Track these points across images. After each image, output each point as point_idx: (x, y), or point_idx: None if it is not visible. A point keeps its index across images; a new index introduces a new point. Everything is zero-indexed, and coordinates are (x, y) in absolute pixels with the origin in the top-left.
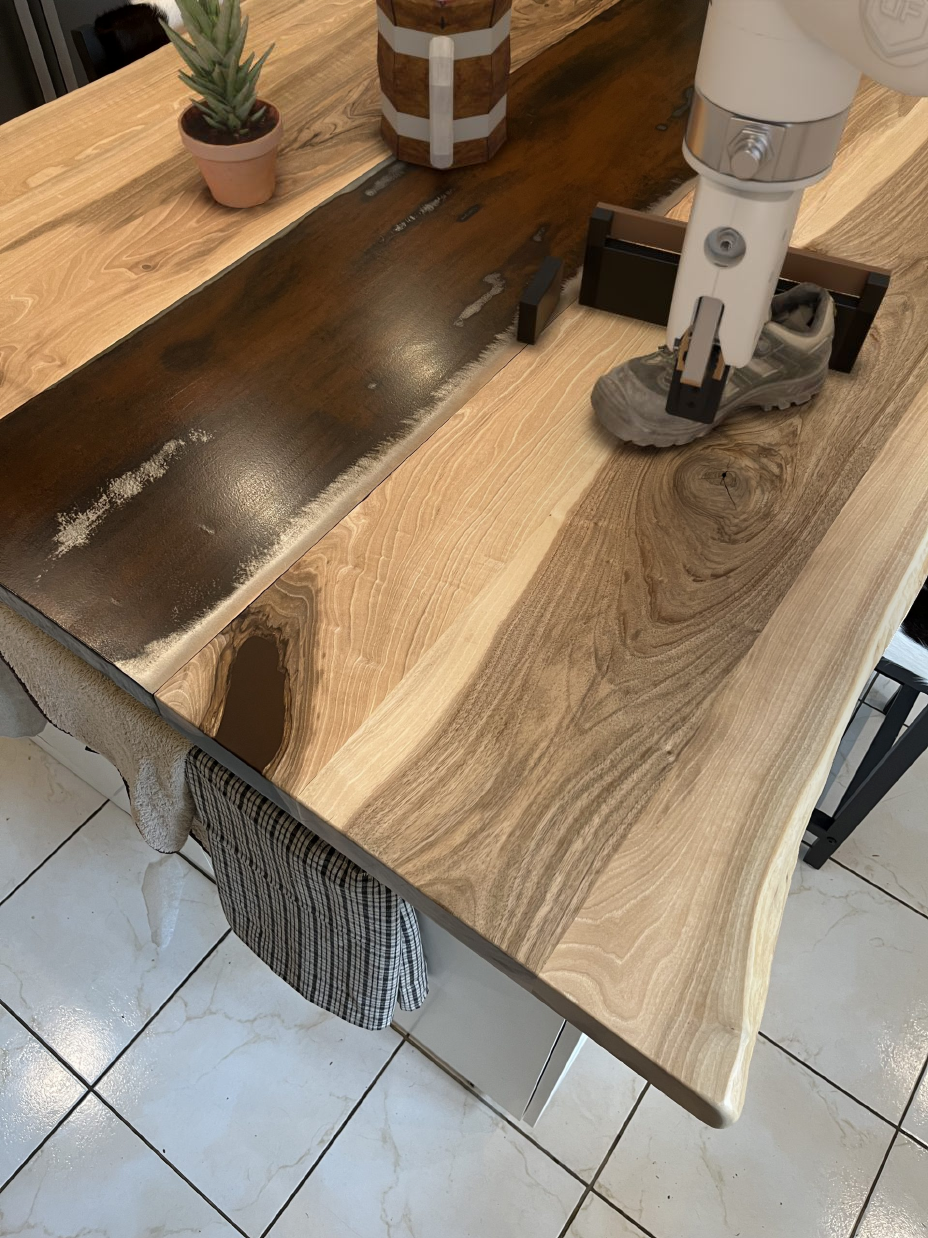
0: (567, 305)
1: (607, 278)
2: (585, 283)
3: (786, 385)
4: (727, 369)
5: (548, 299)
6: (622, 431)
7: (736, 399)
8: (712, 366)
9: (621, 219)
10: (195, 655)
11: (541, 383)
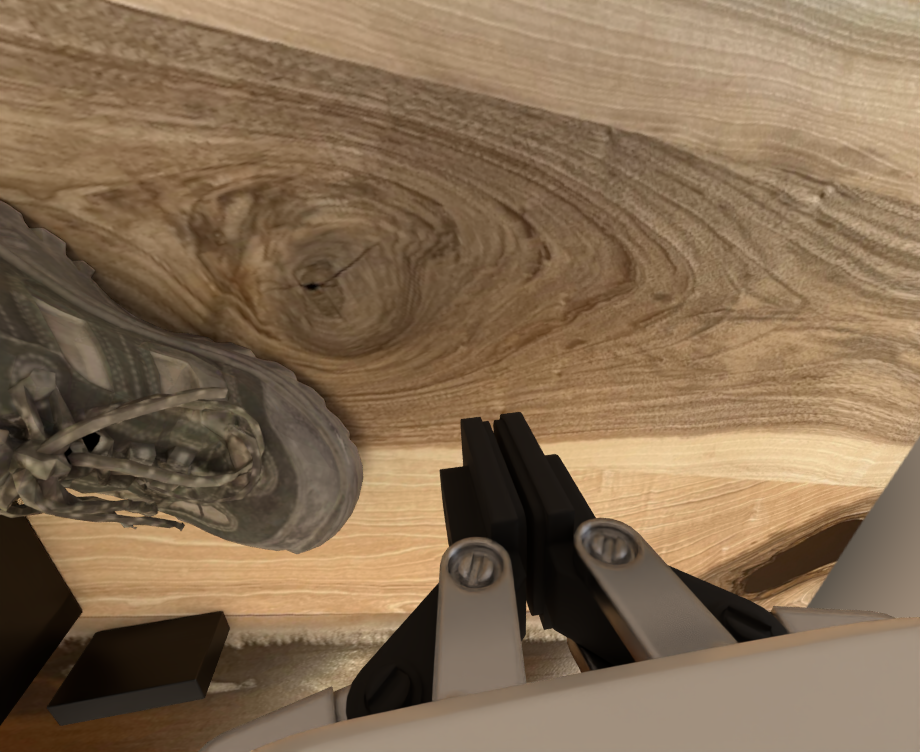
0: (100, 618)
1: (20, 638)
2: (52, 643)
3: (23, 257)
4: (515, 510)
5: (144, 662)
6: (360, 466)
7: (157, 339)
8: (782, 631)
9: None
10: (769, 610)
11: (290, 570)
